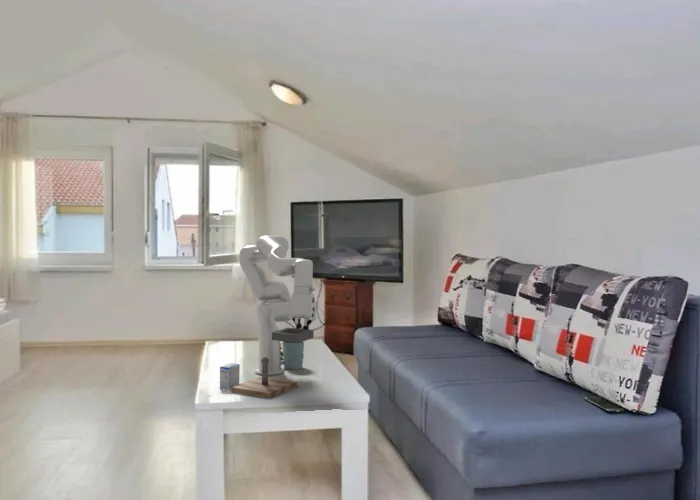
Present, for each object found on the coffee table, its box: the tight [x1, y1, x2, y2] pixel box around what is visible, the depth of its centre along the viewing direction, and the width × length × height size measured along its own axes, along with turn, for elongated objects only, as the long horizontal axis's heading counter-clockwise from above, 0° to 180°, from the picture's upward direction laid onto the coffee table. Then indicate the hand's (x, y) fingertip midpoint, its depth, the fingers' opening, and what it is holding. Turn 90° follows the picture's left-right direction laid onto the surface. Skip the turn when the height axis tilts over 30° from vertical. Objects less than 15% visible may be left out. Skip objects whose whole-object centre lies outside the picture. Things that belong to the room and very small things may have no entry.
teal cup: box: [281, 341, 305, 370], centre depth 272 cm, size 10×10×12 cm
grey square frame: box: [272, 326, 315, 343], centre depth 234 cm, size 16×12×3 cm
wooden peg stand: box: [230, 357, 299, 399], centre depth 233 cm, size 20×18×13 cm
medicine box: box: [219, 362, 241, 390], centre depth 237 cm, size 8×4×9 cm, turn 159°
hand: (302, 334), depth 239 cm, fingers closed on grey square frame, 2 cm apart
